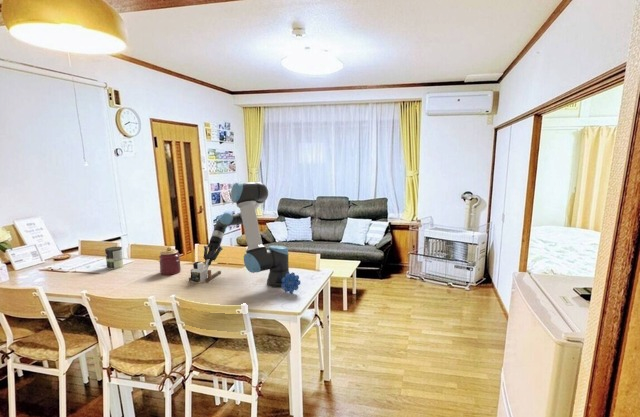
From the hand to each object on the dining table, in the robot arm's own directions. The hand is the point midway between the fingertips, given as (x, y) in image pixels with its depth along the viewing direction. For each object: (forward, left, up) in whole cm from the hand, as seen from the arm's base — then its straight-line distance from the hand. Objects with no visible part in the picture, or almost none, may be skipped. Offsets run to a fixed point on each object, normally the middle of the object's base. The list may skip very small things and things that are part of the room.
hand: (205, 269), depth 216 cm
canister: (+28, +11, -5) cm, 30 cm away
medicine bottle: (-3, +6, -5) cm, 9 cm away
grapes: (-61, -18, -5) cm, 64 cm away
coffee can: (+70, +32, -5) cm, 77 cm away
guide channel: (0, +1, -5) cm, 5 cm away
